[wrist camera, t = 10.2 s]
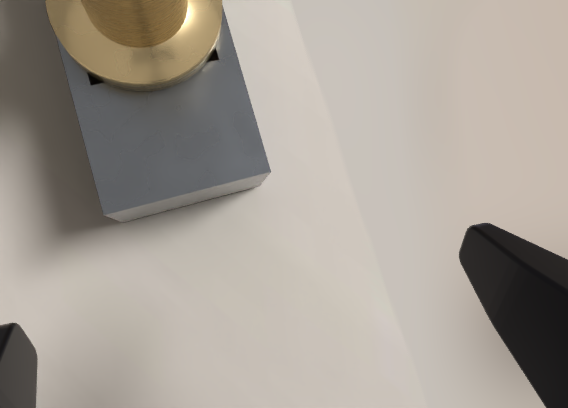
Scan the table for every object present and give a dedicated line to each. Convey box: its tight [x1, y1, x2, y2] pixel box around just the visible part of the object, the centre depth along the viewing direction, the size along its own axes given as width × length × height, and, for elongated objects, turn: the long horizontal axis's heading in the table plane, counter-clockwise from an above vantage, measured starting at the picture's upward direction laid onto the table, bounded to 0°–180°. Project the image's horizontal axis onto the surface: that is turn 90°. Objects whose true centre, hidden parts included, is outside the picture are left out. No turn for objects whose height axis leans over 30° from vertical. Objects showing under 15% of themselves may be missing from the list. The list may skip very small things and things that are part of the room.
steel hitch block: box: [56, 6, 271, 222], centre depth 20 cm, size 15×7×4 cm, turn 16°
